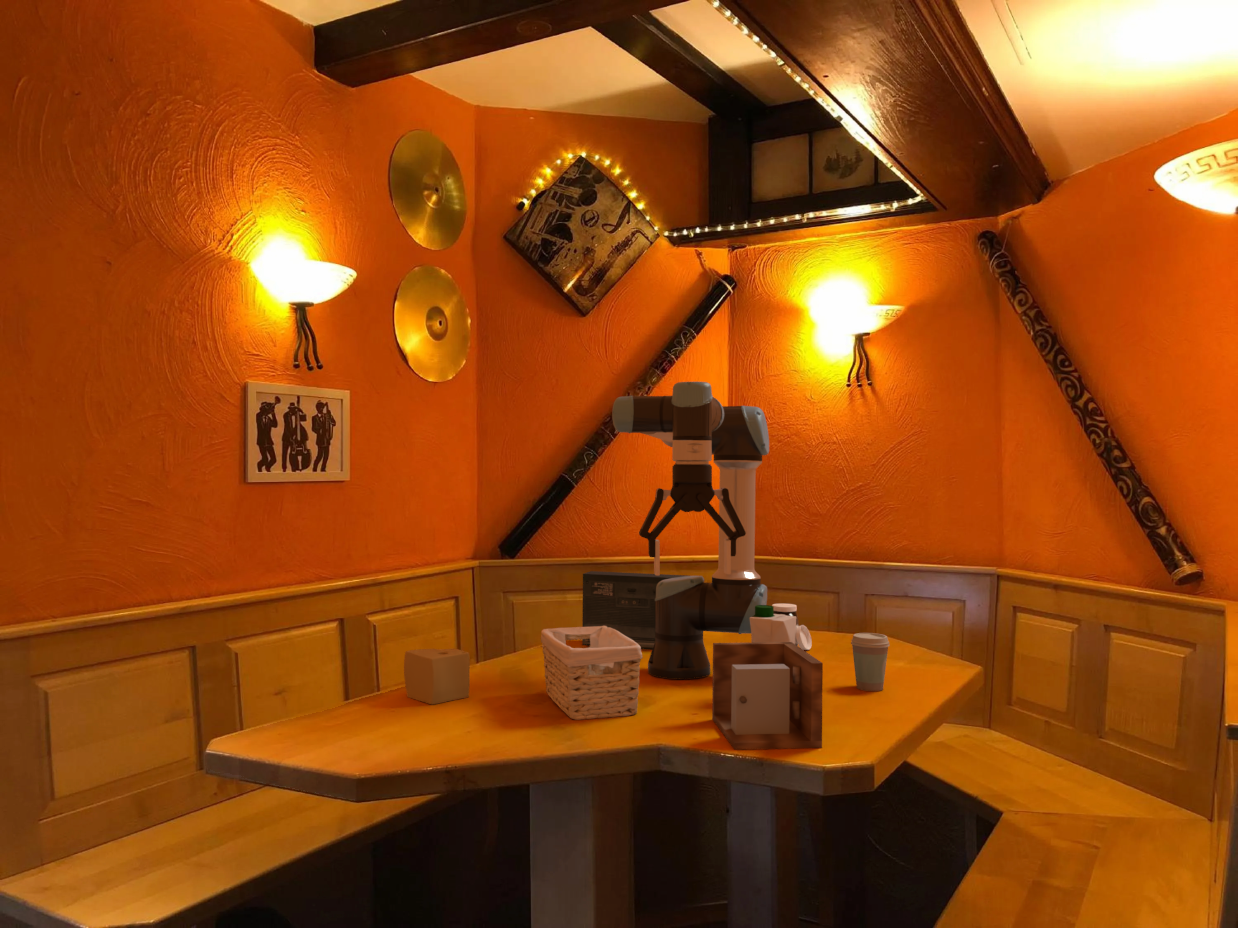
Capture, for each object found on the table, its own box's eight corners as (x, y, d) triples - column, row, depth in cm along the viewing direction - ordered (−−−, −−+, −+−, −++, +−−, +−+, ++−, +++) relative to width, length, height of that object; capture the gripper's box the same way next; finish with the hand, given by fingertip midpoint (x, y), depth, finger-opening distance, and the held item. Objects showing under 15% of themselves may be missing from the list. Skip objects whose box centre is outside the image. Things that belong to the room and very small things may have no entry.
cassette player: (689, 647, 264) (690, 575, 264) (683, 652, 257) (684, 578, 257) (590, 640, 272) (591, 571, 272) (582, 645, 266) (582, 573, 266)
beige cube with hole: (443, 689, 213) (443, 644, 213) (472, 698, 205) (472, 651, 205) (403, 697, 206) (403, 650, 206) (430, 706, 198) (431, 658, 198)
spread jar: (769, 643, 271) (770, 602, 271) (810, 644, 269) (810, 603, 269) (770, 651, 259) (770, 608, 259) (812, 652, 257) (813, 609, 257)
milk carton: (761, 692, 212) (762, 602, 212) (800, 698, 207) (800, 606, 207) (745, 700, 204) (745, 607, 204) (784, 706, 200) (785, 611, 199)
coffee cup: (890, 693, 212) (891, 639, 212) (851, 691, 214) (851, 638, 214) (887, 684, 220) (888, 633, 220) (849, 682, 222) (850, 631, 222)
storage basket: (644, 717, 191) (645, 644, 191) (566, 723, 186) (566, 648, 186) (608, 690, 214) (609, 624, 214) (538, 695, 209) (538, 627, 209)
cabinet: (734, 749, 170) (735, 664, 170) (712, 719, 189) (713, 642, 189) (821, 747, 171) (822, 663, 171) (790, 717, 191) (791, 642, 191)
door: (736, 735, 174) (737, 670, 174) (731, 728, 179) (731, 664, 179) (790, 734, 175) (790, 669, 175) (783, 727, 180) (783, 663, 180)
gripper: (628, 463, 177) (629, 577, 177) (761, 463, 179) (761, 575, 179) (625, 462, 184) (625, 572, 185) (752, 462, 186) (752, 570, 187)
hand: (692, 574), depth 182 cm, fingers open, 13 cm apart
